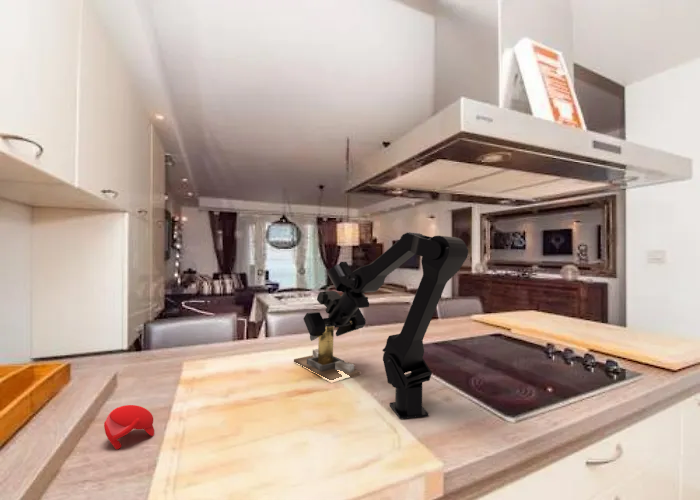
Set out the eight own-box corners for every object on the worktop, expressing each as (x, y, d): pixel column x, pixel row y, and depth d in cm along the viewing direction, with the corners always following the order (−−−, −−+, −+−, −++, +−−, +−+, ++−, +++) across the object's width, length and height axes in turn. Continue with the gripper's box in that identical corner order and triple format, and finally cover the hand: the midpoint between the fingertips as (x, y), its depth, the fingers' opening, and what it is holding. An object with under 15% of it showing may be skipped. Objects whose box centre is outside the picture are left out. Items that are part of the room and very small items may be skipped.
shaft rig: (360, 374, 88) (360, 364, 88) (330, 383, 82) (331, 371, 82) (320, 356, 104) (321, 347, 104) (293, 362, 97) (294, 352, 97)
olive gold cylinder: (331, 368, 90) (332, 324, 90) (316, 367, 91) (317, 323, 91) (333, 362, 95) (334, 321, 95) (319, 362, 95) (320, 320, 95)
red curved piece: (95, 439, 50) (134, 413, 52) (98, 411, 54) (134, 389, 56) (127, 461, 54) (162, 437, 56) (127, 434, 58) (160, 413, 61)
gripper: (360, 281, 96) (338, 312, 104) (307, 283, 84) (287, 318, 92) (377, 310, 89) (352, 341, 98) (323, 317, 78) (300, 351, 86)
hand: (324, 337), depth 94 cm, fingers open, 9 cm apart
